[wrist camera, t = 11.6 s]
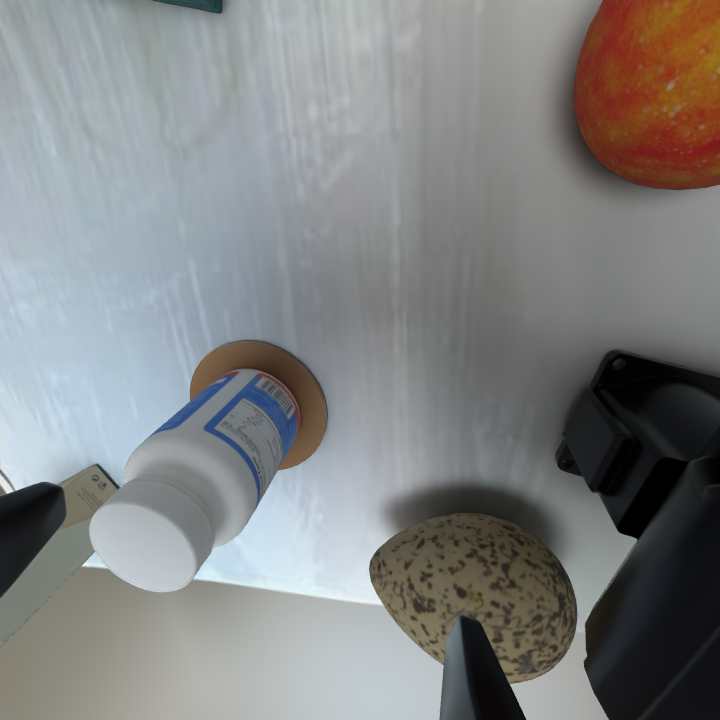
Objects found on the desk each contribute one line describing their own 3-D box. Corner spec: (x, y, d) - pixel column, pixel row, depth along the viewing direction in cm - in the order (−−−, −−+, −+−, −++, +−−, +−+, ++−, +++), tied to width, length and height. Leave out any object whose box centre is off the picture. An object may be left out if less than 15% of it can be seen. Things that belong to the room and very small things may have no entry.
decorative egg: (632, 690, 15) (366, 624, 16) (549, 715, 20) (349, 664, 20) (588, 509, 20) (390, 465, 21) (531, 564, 25) (372, 527, 26)
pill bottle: (216, 445, 24) (84, 591, 15) (206, 361, 22) (46, 473, 13) (305, 458, 23) (220, 620, 14) (303, 371, 21) (202, 498, 12)
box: (97, 462, 27) (-108, 620, 17) (138, 510, 28) (-32, 687, 18) (51, 487, 29) (-159, 644, 19) (92, 531, 30) (-87, 703, 20)
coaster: (339, 362, 21) (337, 365, 21) (315, 482, 24) (313, 486, 24) (196, 323, 22) (192, 326, 21) (190, 445, 25) (187, 448, 25)
